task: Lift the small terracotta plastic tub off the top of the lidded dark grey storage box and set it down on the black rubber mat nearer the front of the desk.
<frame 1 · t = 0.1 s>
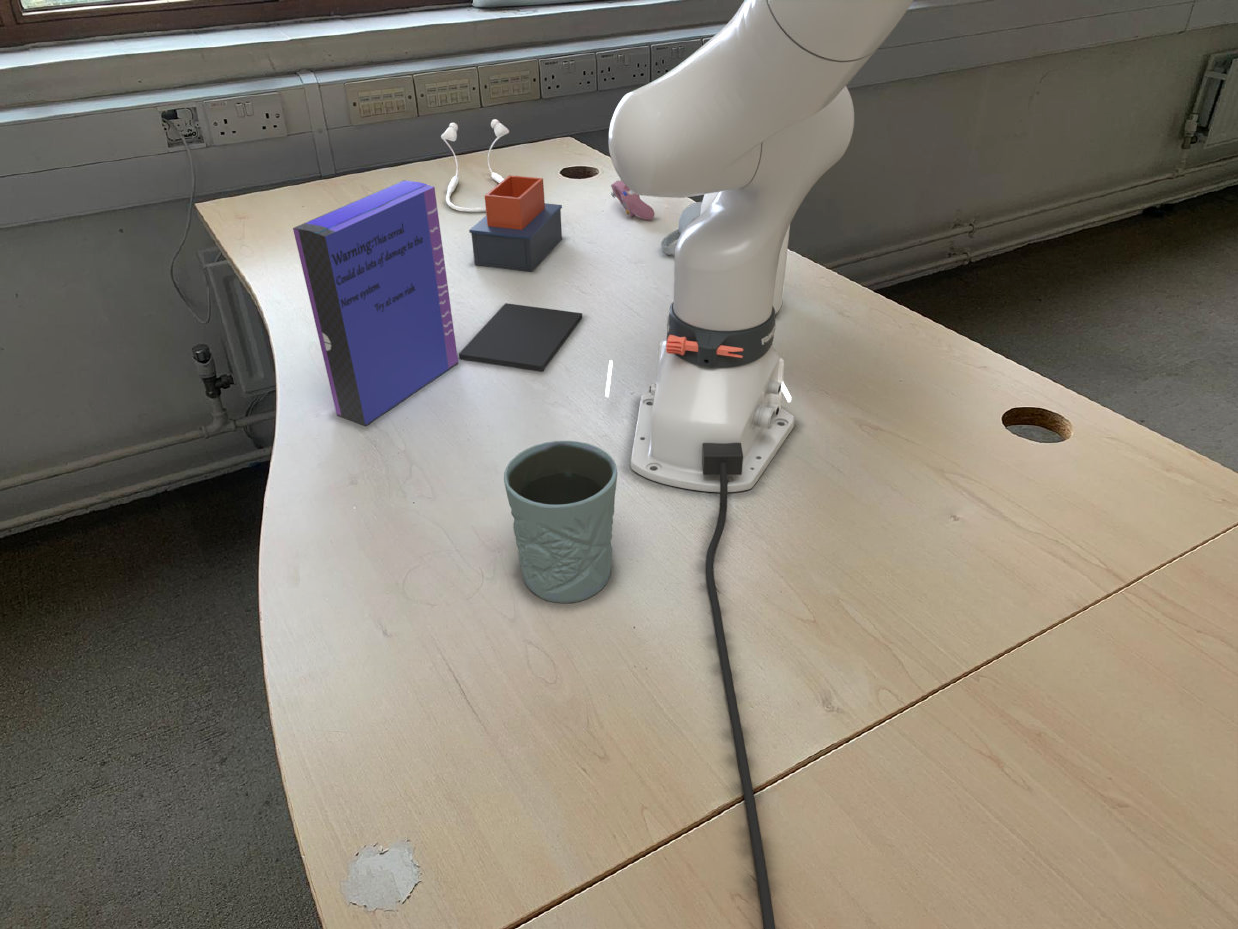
storage box: (519, 251, 150), on the table, touching top tub
top tub: (516, 216, 146), point 6 cm above the table, touching storage box
mat: (523, 337, 125), on the table
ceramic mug: (694, 252, 149), on the table
can: (738, 307, 133), on the table
green embossed cup: (566, 571, 87), on the table
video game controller: (631, 214, 164), on the table
earphone: (480, 194, 173), on the table
purple flat upright box: (400, 389, 115), on the table
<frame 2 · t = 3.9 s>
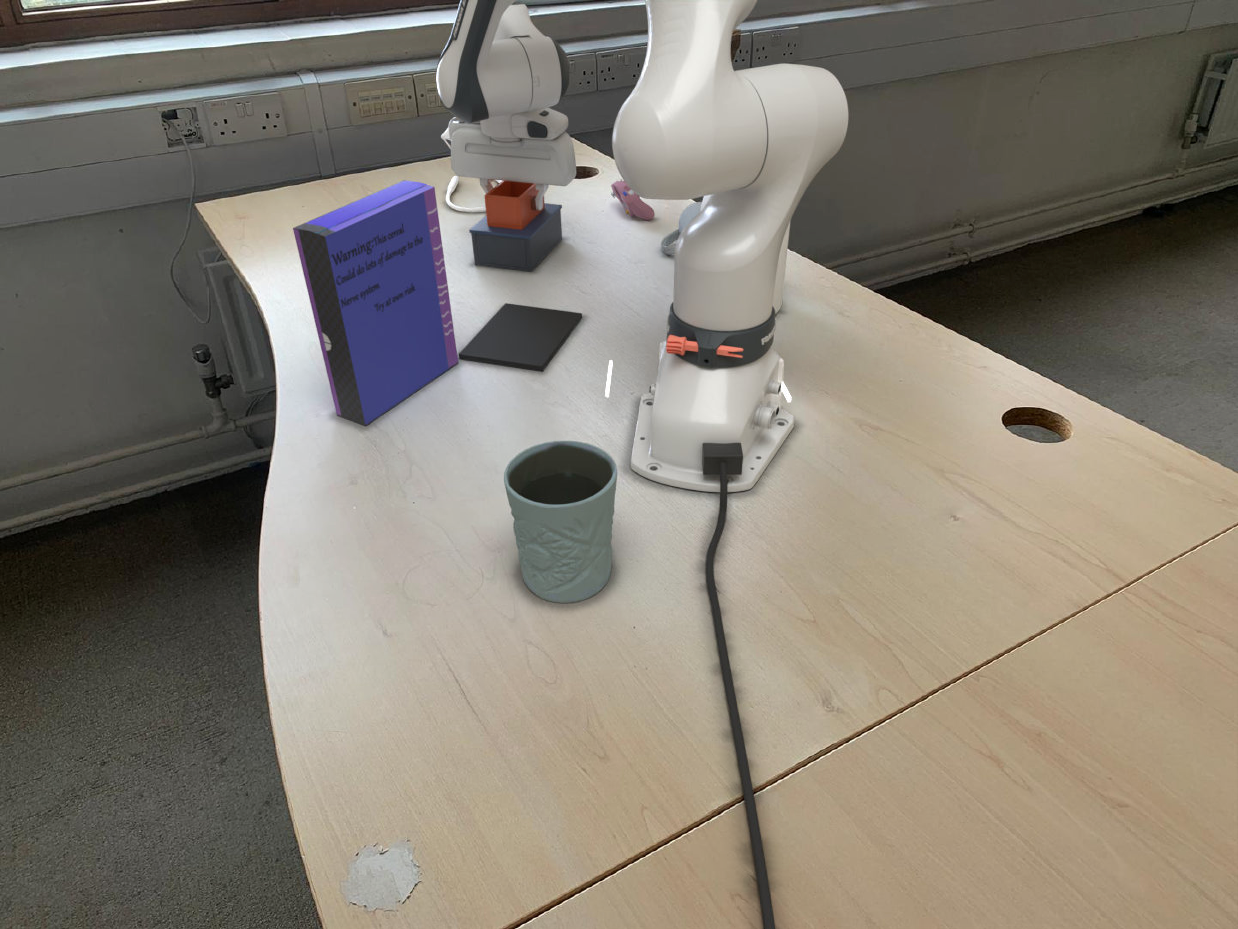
hand: (516, 206, 145), 8 cm above the table, tool pointing down, fingers closed on top tub, 6 cm apart
top tub: (516, 216, 146), point 6 cm above the table, touching gripper, storage box
everything else where it was.
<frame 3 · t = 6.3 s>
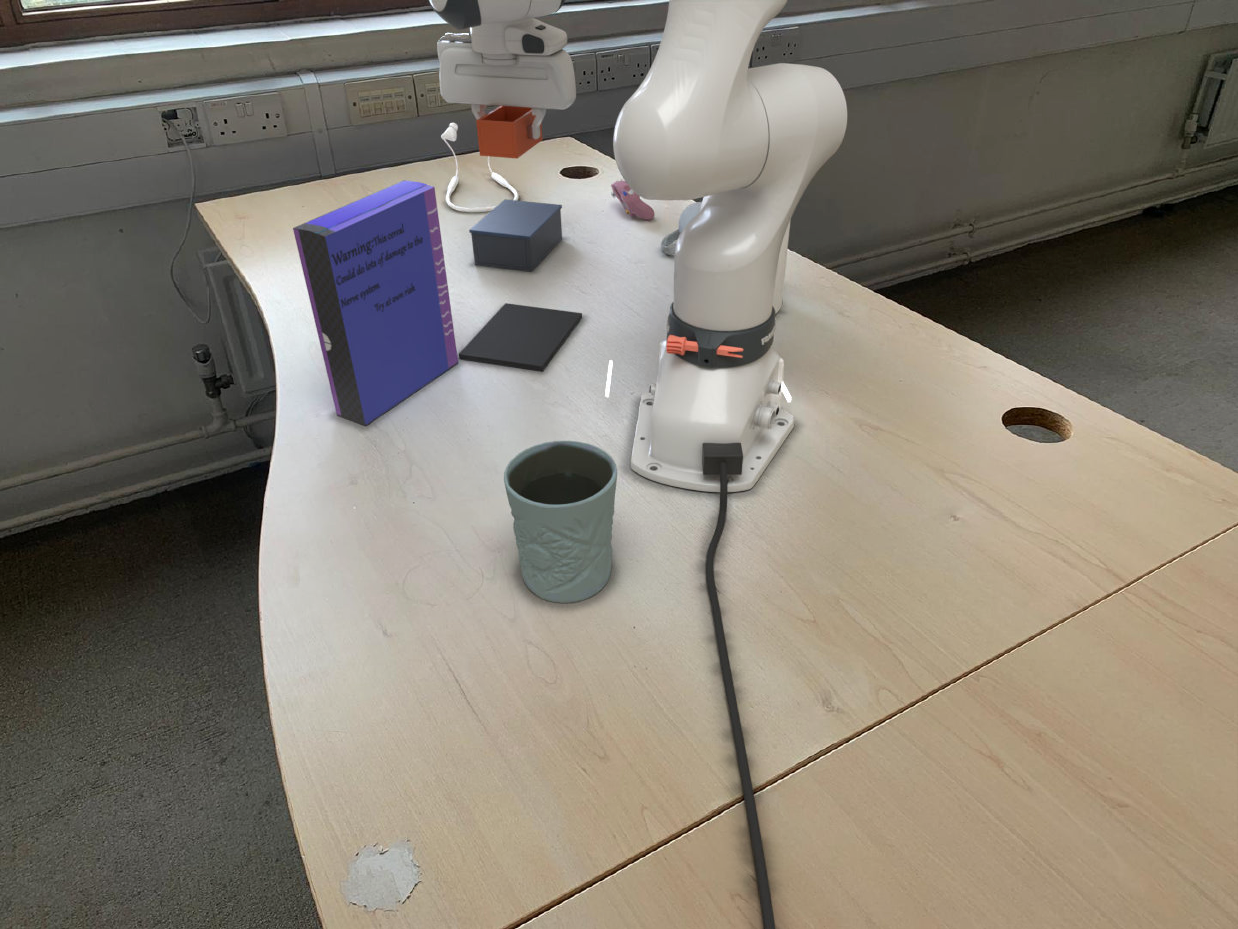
hand: (511, 136, 134), 20 cm above the table, tool pointing down, fingers closed on top tub, 6 cm apart
storage box: (519, 251, 150), on the table
top tub: (511, 147, 135), point 19 cm above the table, touching gripper
everything else where it was.
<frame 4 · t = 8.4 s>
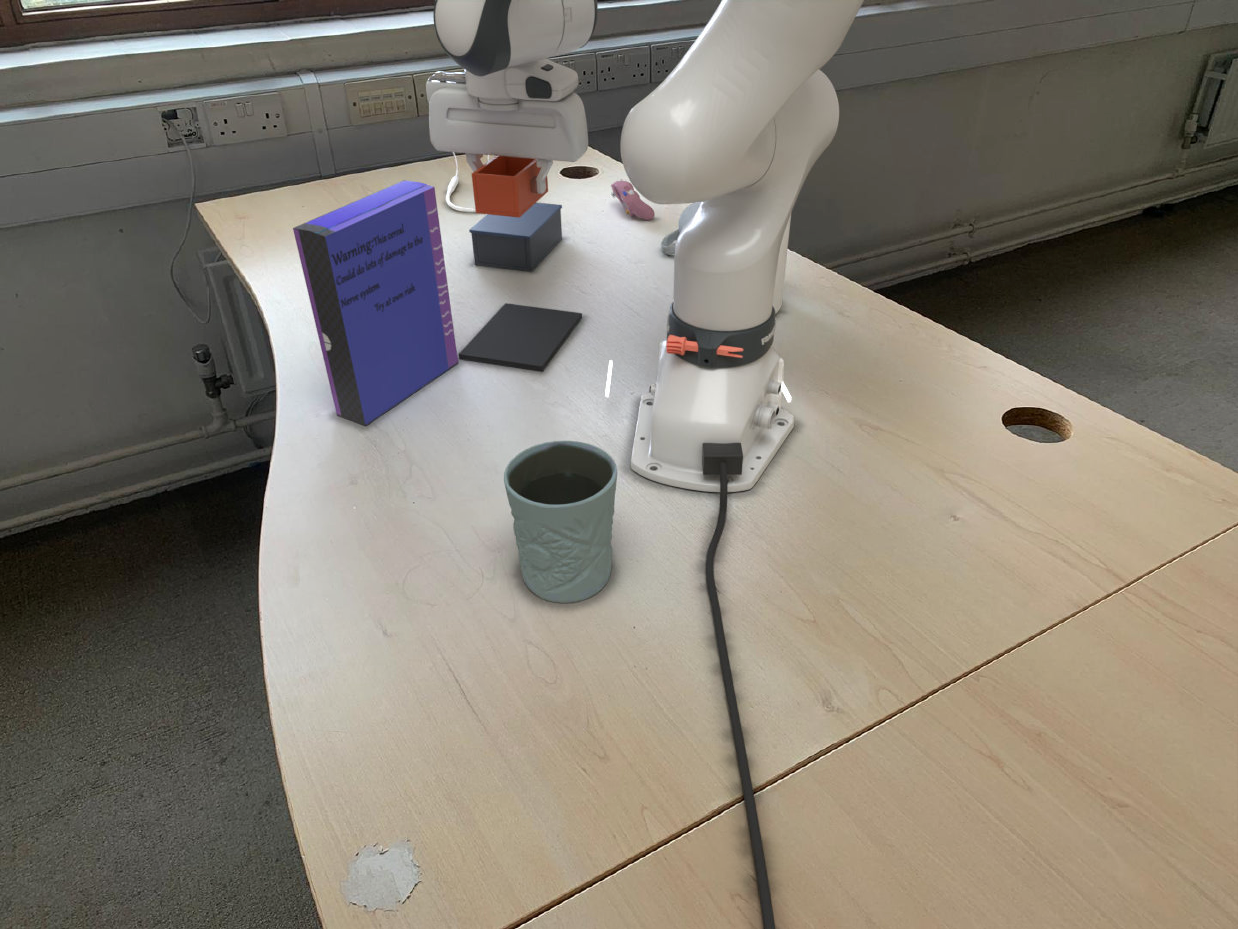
hand: (512, 189, 116), 20 cm above the table, tool pointing down, fingers closed on top tub, 6 cm apart
top tub: (512, 202, 116), point 18 cm above the table, touching gripper
everything else where it was.
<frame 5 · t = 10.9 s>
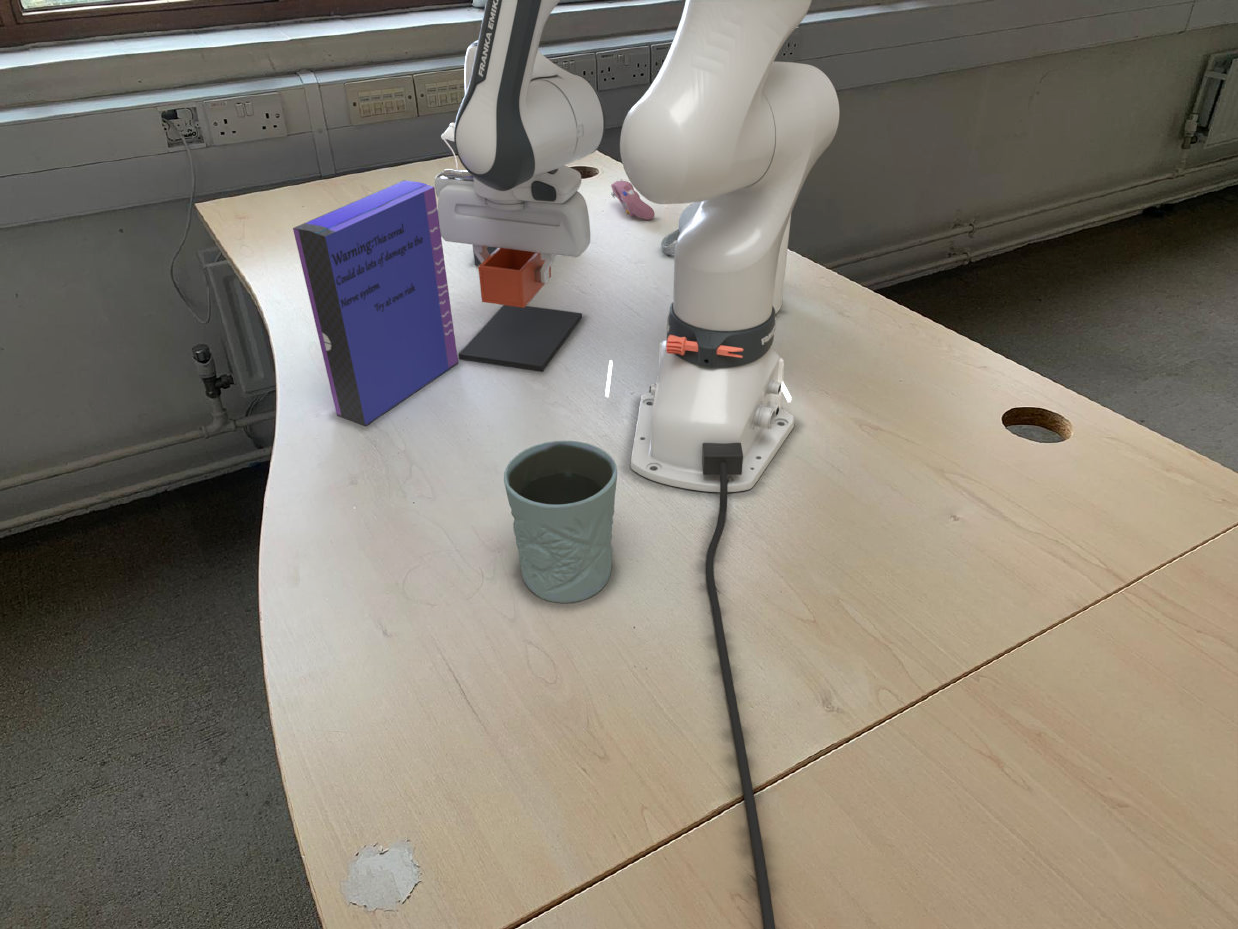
hand: (516, 277, 120), 9 cm above the table, tool pointing down, fingers closed on top tub, 6 cm apart
top tub: (517, 289, 121), point 7 cm above the table, touching gripper
everything else where it was.
when the fingers open (2 cm above the table, at t = 12.9 s): top tub stays where it is, resting on mat.
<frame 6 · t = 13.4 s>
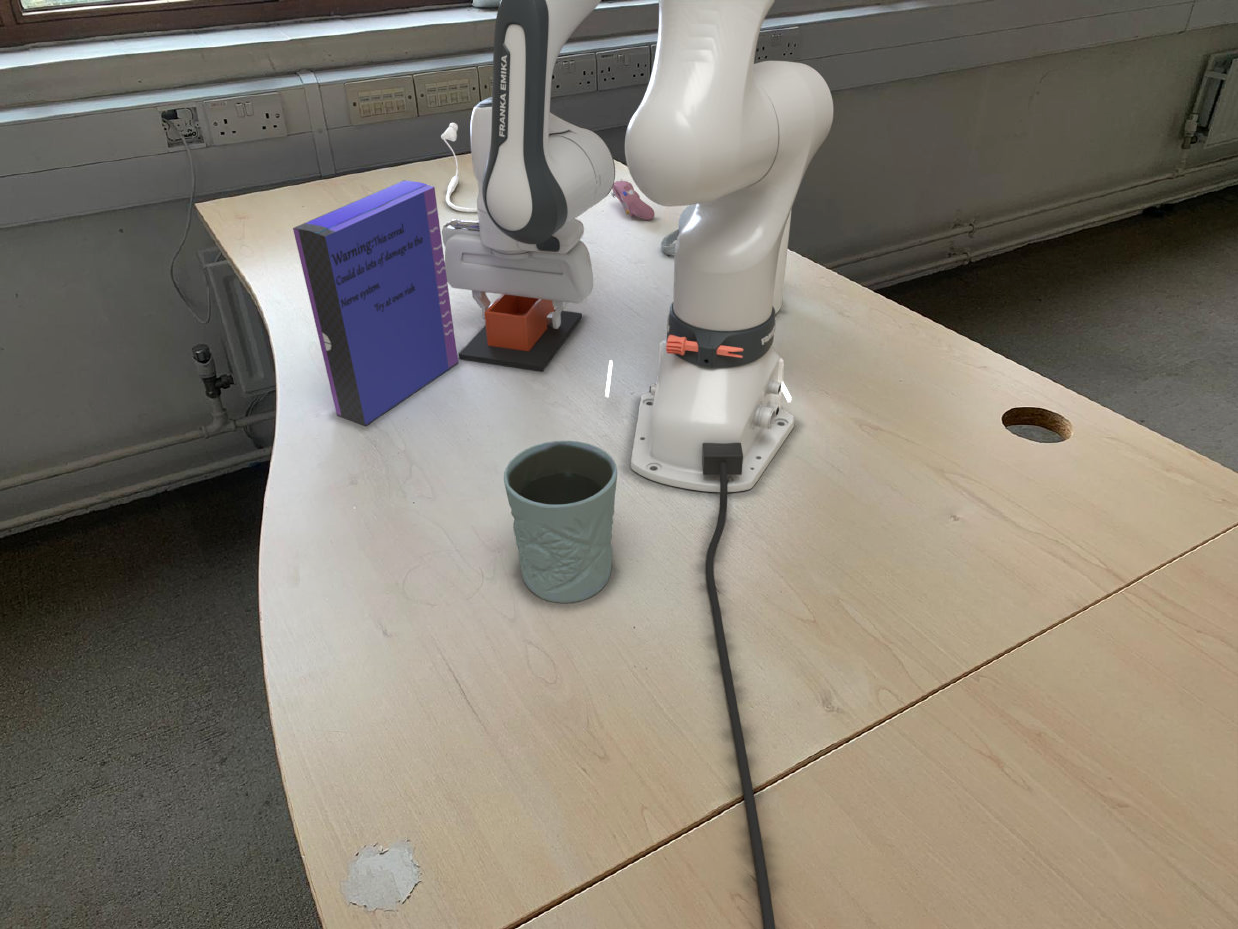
hand: (521, 322, 124), 2 cm above the table, tool pointing down, fingers open, 8 cm apart
top tub: (522, 331, 125), point 1 cm above the table, touching mat
everything else where it was.
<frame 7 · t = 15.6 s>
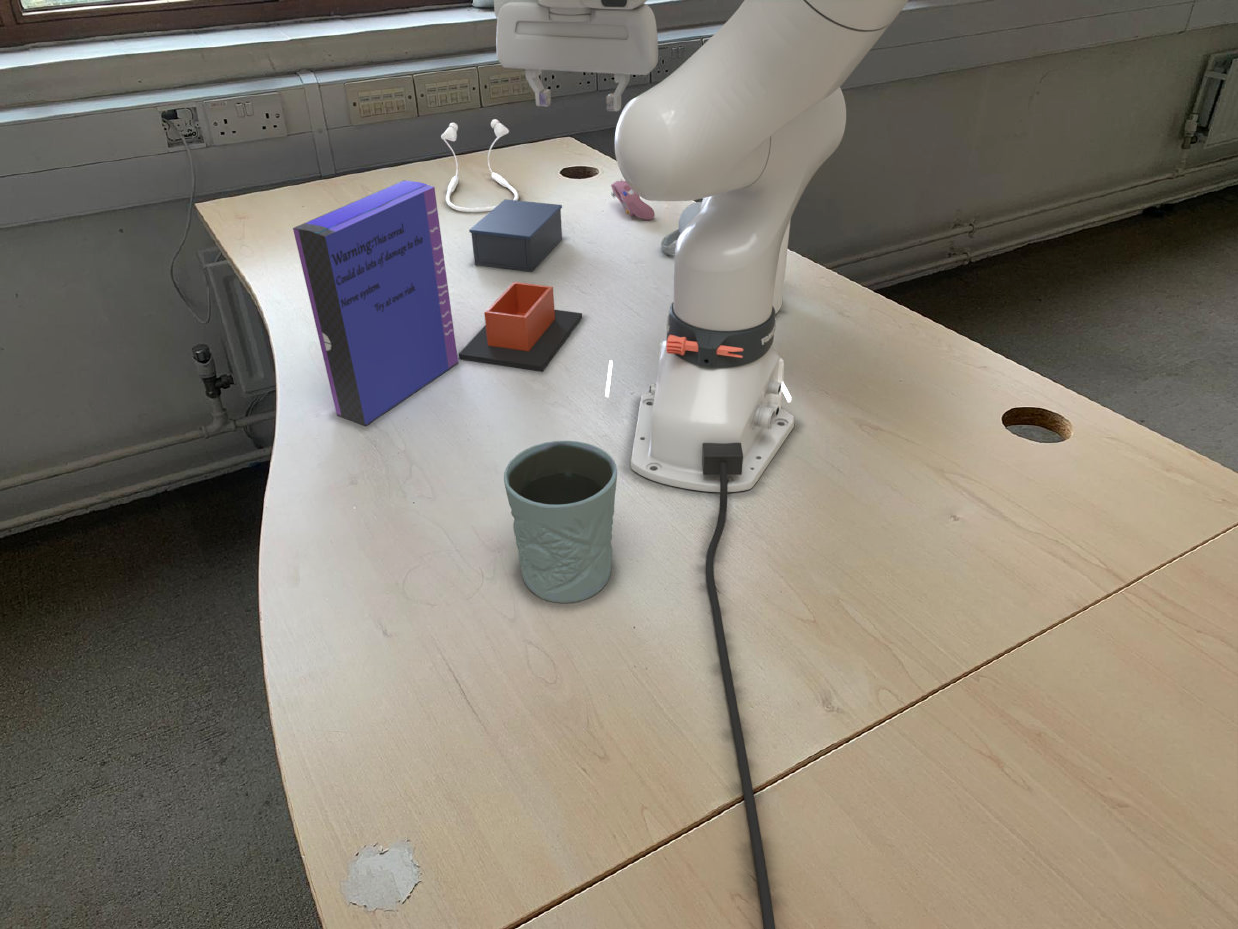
hand: (578, 107, 115), 29 cm above the table, tool pointing down, fingers open, 8 cm apart
nothing on the table moved.
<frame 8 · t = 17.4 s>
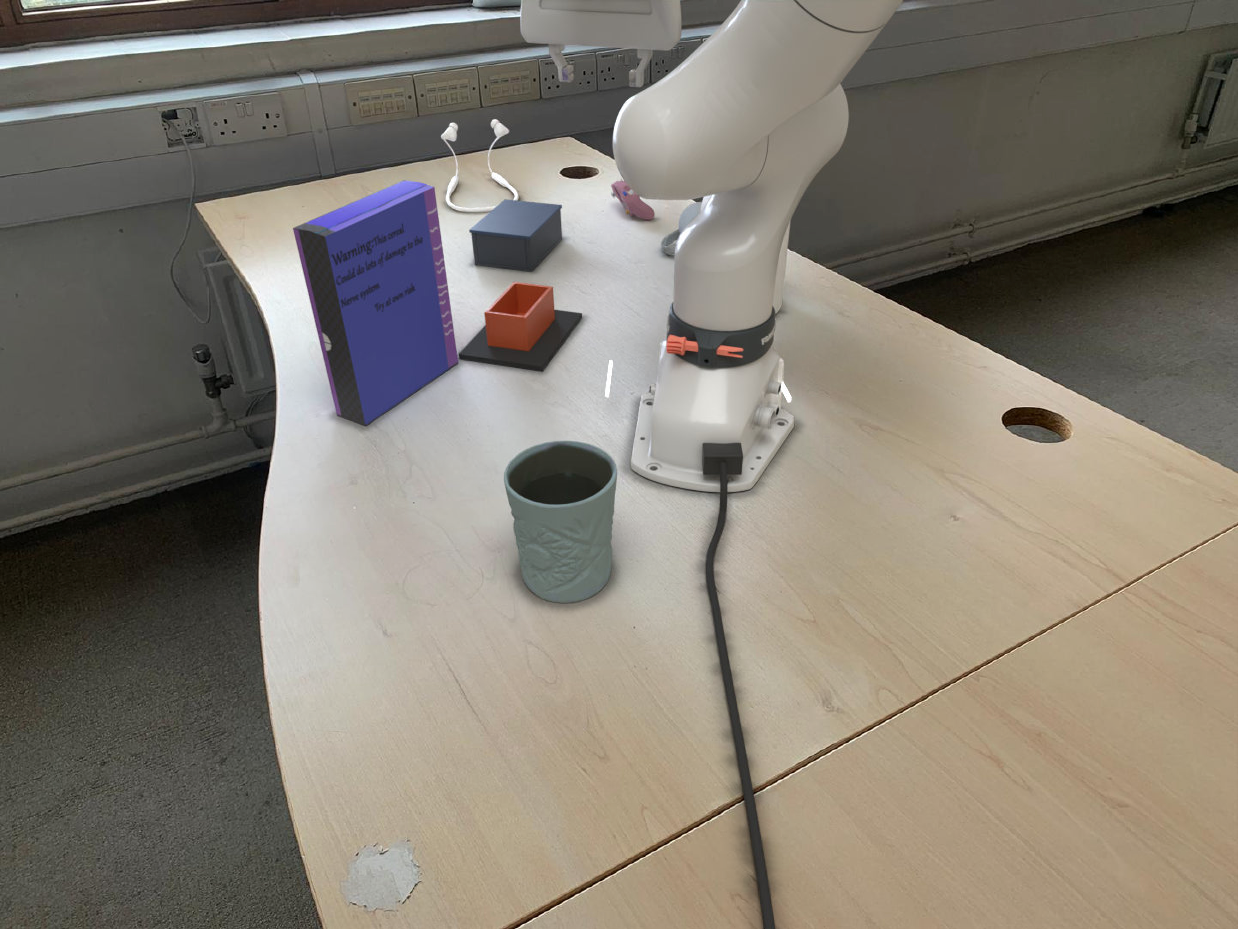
hand: (601, 83, 115), 31 cm above the table, tool pointing down, fingers open, 8 cm apart
nothing on the table moved.
at the end: top tub inside the target area on the mat (0.2 cm from its centre), point 0.8 cm above the mat's base; top tub touching mat; storage box moved 0.0 cm from its start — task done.
